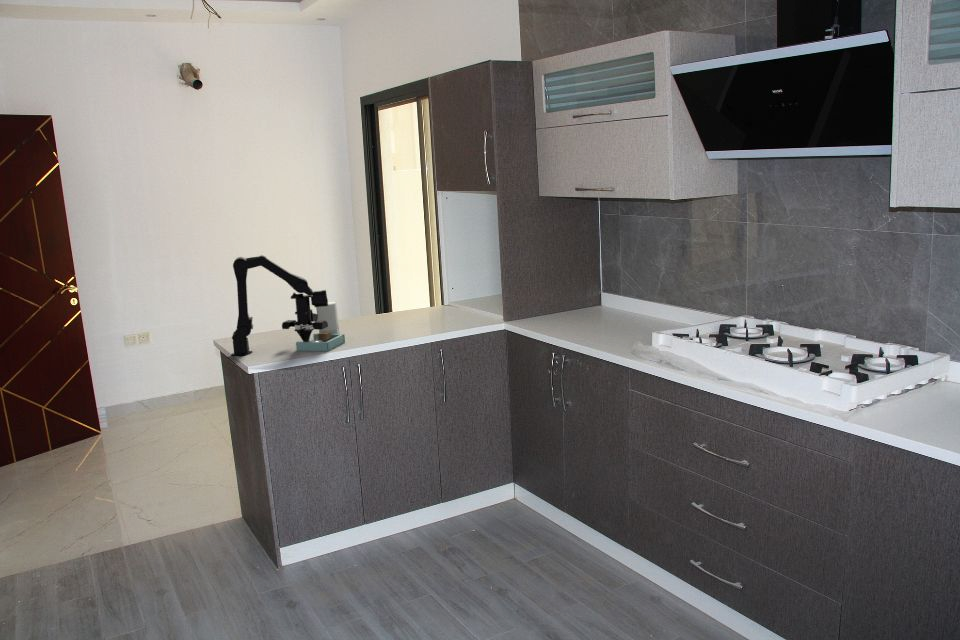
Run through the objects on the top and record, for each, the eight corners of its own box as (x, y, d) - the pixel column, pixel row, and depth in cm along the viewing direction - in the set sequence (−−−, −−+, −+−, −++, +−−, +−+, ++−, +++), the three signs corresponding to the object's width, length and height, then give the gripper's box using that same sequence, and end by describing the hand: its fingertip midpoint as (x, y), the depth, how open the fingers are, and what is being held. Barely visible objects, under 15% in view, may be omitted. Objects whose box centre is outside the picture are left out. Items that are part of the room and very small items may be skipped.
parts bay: (327, 351, 326) (326, 342, 326) (296, 350, 330) (295, 342, 330) (345, 342, 342) (344, 334, 341) (315, 341, 346) (314, 333, 345)
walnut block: (331, 343, 341) (330, 331, 340) (327, 345, 338) (326, 333, 337) (323, 343, 342) (322, 331, 341) (318, 345, 339) (317, 333, 338)
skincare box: (340, 335, 356) (337, 301, 353) (338, 338, 349) (335, 303, 346) (321, 336, 355) (318, 302, 352) (318, 339, 349) (315, 304, 346)
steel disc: (319, 350, 330) (318, 343, 329) (306, 349, 332) (305, 342, 331) (325, 346, 336) (324, 339, 335) (312, 346, 337) (311, 339, 337)
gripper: (332, 304, 336) (335, 340, 339) (292, 304, 342) (296, 340, 345) (320, 309, 326) (323, 346, 329) (279, 309, 331) (283, 346, 334)
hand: (306, 344), depth 335 cm, fingers closed
